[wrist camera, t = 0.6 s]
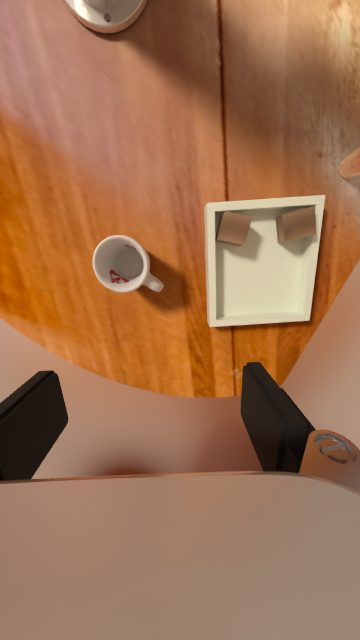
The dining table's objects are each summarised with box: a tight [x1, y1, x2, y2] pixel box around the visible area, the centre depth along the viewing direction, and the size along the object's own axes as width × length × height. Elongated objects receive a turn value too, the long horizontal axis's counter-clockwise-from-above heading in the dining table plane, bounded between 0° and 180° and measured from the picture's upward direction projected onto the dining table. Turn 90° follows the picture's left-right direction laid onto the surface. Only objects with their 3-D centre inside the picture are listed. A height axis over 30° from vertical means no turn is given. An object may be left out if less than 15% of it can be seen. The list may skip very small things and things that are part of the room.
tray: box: [204, 195, 325, 327], centre depth 36 cm, size 20×18×3 cm
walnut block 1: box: [215, 211, 252, 246], centre depth 33 cm, size 4×4×4 cm
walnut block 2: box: [275, 206, 316, 243], centre depth 33 cm, size 4×4×4 cm
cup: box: [93, 235, 164, 293], centre depth 33 cm, size 11×8×8 cm
